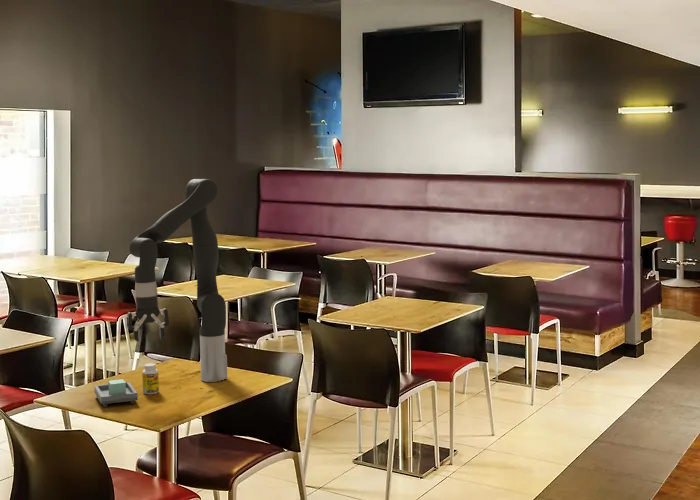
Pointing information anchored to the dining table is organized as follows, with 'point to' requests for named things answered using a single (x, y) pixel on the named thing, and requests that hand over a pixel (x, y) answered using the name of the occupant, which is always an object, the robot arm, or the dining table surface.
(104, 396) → the tray
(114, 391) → the teal block
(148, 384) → the supplement bottle
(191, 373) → the dining table surface
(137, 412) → the dining table surface
